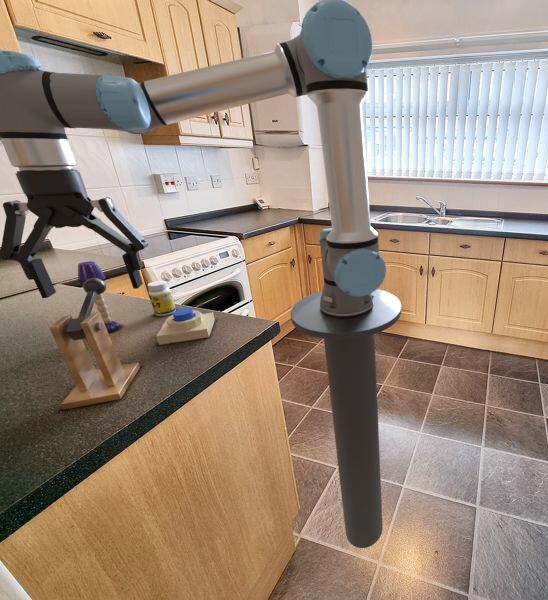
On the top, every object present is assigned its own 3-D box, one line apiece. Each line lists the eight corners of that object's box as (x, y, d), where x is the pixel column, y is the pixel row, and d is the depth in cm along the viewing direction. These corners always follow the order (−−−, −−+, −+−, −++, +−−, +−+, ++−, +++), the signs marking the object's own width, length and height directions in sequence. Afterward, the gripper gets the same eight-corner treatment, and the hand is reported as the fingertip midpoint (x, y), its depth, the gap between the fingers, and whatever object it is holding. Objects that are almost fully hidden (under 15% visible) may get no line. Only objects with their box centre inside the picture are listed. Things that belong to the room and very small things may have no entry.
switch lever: (91, 287, 64) (81, 275, 62) (111, 285, 65) (102, 273, 63) (70, 342, 56) (59, 331, 54) (94, 339, 57) (83, 327, 55)
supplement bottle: (151, 314, 88) (141, 284, 85) (168, 307, 92) (159, 278, 89) (163, 317, 87) (153, 287, 83) (180, 310, 91) (171, 281, 87)
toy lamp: (115, 323, 84) (90, 258, 77) (128, 325, 83) (104, 260, 76) (94, 332, 80) (65, 265, 73) (107, 335, 78) (80, 267, 72)
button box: (214, 320, 85) (211, 306, 83) (209, 337, 77) (204, 321, 76) (169, 326, 82) (164, 312, 80) (158, 344, 74) (153, 329, 73)
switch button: (196, 313, 81) (194, 307, 80) (192, 320, 77) (190, 313, 76) (177, 316, 79) (175, 309, 79) (172, 323, 76) (170, 316, 75)
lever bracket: (91, 375, 64) (61, 310, 59) (140, 367, 67) (116, 304, 61) (63, 410, 56) (25, 337, 50) (120, 399, 58) (90, 328, 52)
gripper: (145, 166, 61) (176, 276, 70) (-38, 168, 54) (22, 291, 62) (130, 168, 55) (166, 289, 63) (-81, 171, 47) (-7, 307, 56)
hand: (95, 290), depth 63 cm, fingers open, 13 cm apart
